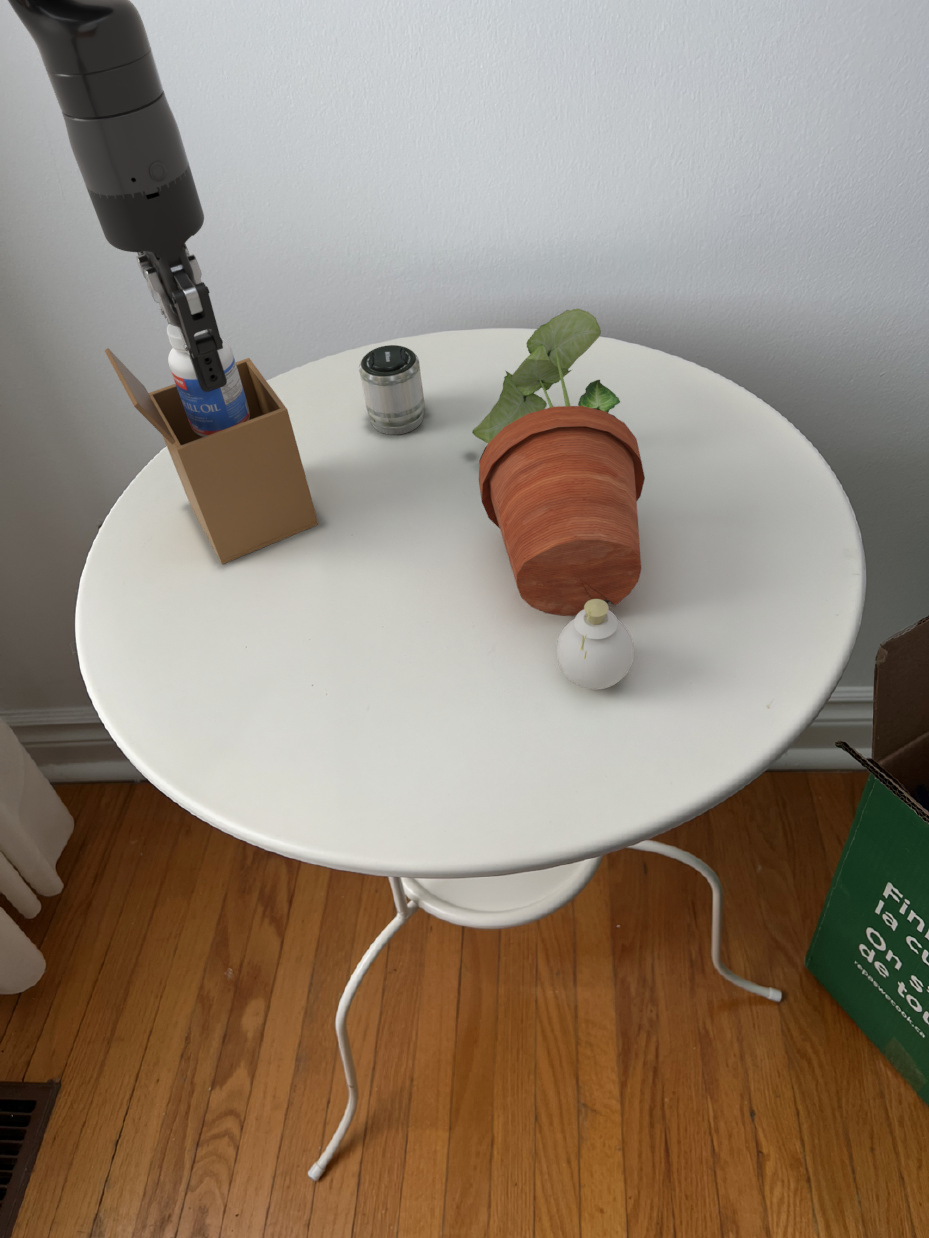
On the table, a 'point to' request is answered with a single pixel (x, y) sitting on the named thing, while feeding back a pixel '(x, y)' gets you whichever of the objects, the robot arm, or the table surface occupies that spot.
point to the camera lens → (392, 389)
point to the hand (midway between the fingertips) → (203, 370)
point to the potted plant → (562, 478)
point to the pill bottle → (213, 406)
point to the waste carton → (241, 470)
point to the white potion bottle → (595, 647)
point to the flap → (139, 396)
